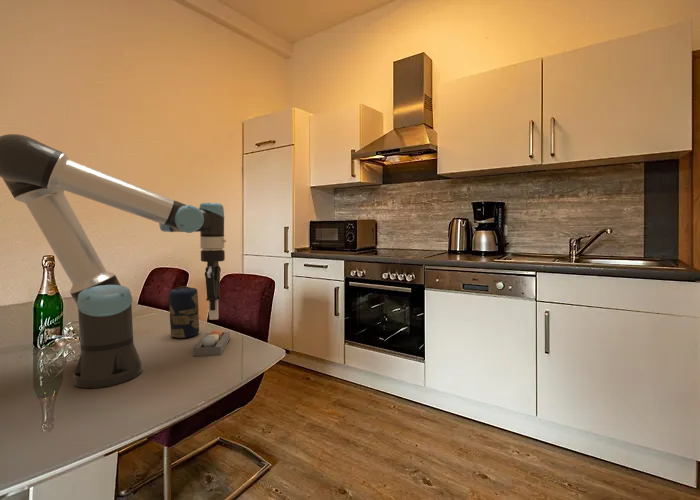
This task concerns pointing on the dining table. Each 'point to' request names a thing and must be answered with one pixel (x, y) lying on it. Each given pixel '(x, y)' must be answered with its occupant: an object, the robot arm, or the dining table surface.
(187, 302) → the canister
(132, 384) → the dining table surface
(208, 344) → the slate button
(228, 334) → the grey tray
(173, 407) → the dining table surface
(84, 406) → the dining table surface
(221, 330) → the terracotta button
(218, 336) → the cream button
